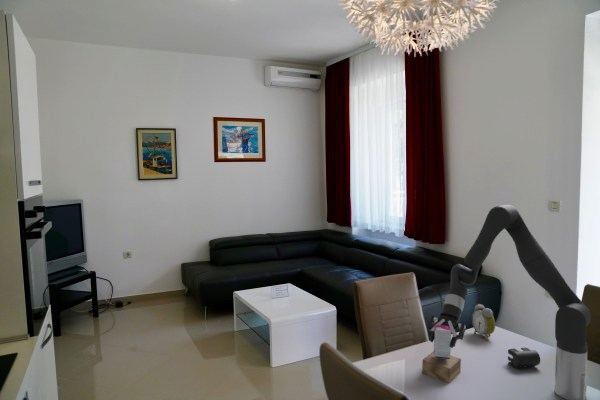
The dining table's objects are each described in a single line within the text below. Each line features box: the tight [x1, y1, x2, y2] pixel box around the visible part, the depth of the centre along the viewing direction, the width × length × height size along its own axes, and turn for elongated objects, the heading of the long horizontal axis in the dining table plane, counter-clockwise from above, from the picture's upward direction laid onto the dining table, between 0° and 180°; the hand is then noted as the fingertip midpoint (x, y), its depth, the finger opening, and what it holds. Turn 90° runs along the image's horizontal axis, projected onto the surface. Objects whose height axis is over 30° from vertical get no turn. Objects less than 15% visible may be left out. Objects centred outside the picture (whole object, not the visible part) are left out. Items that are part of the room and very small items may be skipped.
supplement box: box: [433, 324, 452, 359], centre depth 162 cm, size 6×6×12 cm
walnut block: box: [421, 350, 462, 384], centre depth 163 cm, size 11×11×6 cm
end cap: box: [507, 347, 541, 369], centre depth 168 cm, size 10×7×7 cm
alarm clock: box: [471, 303, 496, 341], centre depth 198 cm, size 12×7×15 cm, turn 10°
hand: (440, 344), depth 161 cm, fingers closed on supplement box, 7 cm apart
